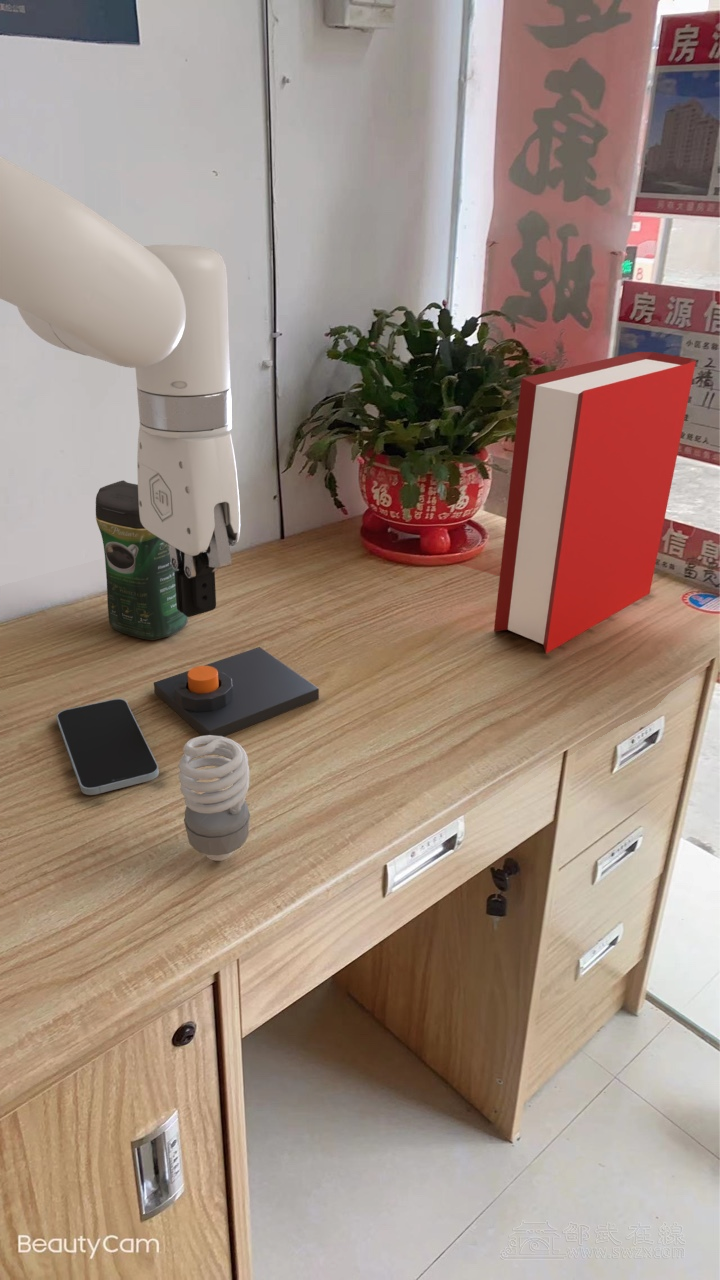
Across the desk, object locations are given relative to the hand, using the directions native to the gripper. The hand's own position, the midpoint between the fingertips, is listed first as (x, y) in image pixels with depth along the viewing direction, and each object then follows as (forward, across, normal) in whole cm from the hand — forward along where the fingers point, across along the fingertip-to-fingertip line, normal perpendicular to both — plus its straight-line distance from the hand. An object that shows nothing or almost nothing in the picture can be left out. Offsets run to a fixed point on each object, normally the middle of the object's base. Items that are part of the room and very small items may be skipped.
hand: (196, 609), depth 81 cm
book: (+15, +2, +57) cm, 59 cm away
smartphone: (+16, -7, -7) cm, 19 cm away
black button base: (+16, -7, +9) cm, 20 cm away
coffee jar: (+16, -28, +9) cm, 34 cm away
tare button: (+13, -7, +5) cm, 16 cm away
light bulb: (+16, +14, -7) cm, 23 cm away
